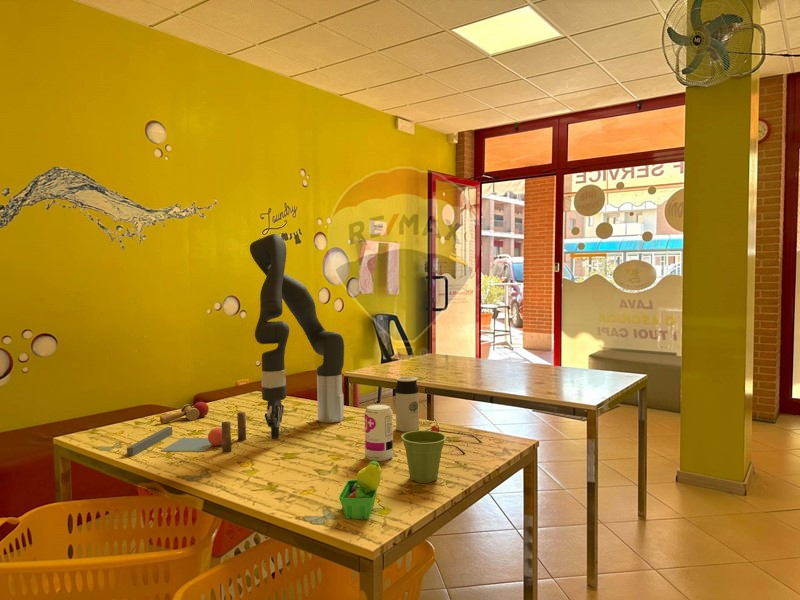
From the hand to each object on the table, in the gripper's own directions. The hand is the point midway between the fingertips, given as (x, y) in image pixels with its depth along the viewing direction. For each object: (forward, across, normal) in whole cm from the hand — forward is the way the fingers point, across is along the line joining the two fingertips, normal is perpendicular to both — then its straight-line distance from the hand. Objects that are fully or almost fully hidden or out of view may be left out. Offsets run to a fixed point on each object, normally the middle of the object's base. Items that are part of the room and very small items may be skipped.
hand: (275, 438), depth 177 cm
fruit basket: (+3, +48, +35) cm, 60 cm away
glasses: (+4, -2, +56) cm, 56 cm away
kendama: (+3, -32, -45) cm, 56 cm away
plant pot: (+3, +28, +48) cm, 56 cm away
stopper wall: (+2, 0, -42) cm, 42 cm away
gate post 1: (+2, +6, -14) cm, 15 cm away
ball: (0, 0, -19) cm, 19 cm away
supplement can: (+3, +10, +34) cm, 36 cm away
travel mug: (+3, -21, +41) cm, 46 cm away
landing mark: (+2, 0, -28) cm, 28 cm away
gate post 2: (+2, -6, -13) cm, 15 cm away
